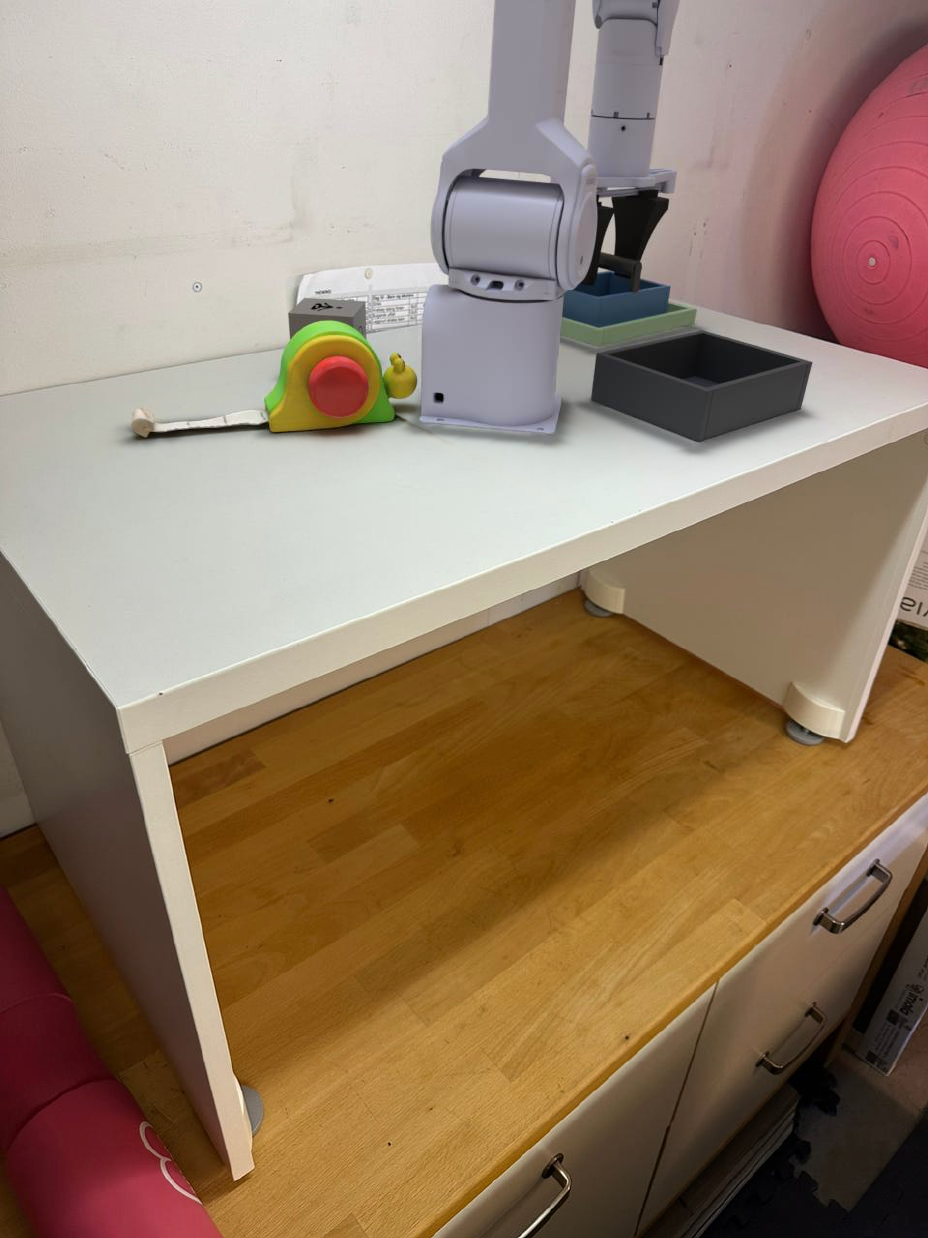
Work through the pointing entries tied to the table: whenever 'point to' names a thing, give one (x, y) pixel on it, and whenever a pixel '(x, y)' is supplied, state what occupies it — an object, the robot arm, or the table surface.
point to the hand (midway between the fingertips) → (604, 279)
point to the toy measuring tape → (317, 386)
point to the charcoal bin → (700, 383)
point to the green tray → (629, 326)
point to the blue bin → (616, 295)
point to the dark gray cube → (328, 314)
